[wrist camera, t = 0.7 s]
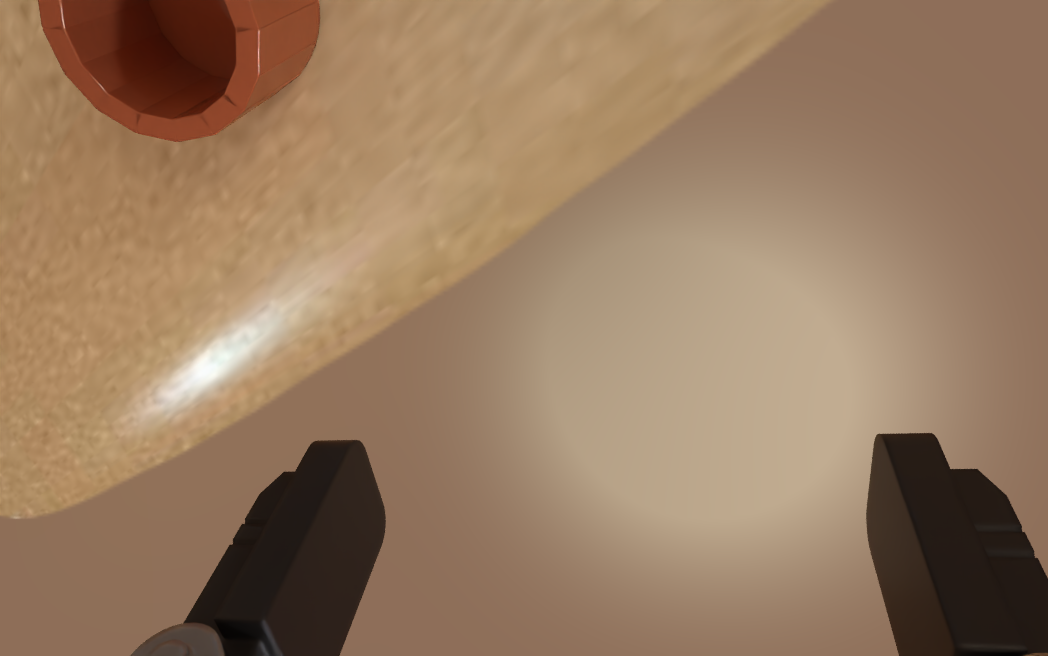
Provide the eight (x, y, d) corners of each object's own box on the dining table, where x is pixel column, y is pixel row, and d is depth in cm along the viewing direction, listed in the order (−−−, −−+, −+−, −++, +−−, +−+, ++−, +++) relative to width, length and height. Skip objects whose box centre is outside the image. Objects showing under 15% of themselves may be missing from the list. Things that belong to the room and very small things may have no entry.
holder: (98, -85, 37) (-8, -70, 31) (278, -134, 35) (201, -129, 29) (182, 111, 41) (104, 156, 35) (346, 78, 39) (292, 120, 33)
